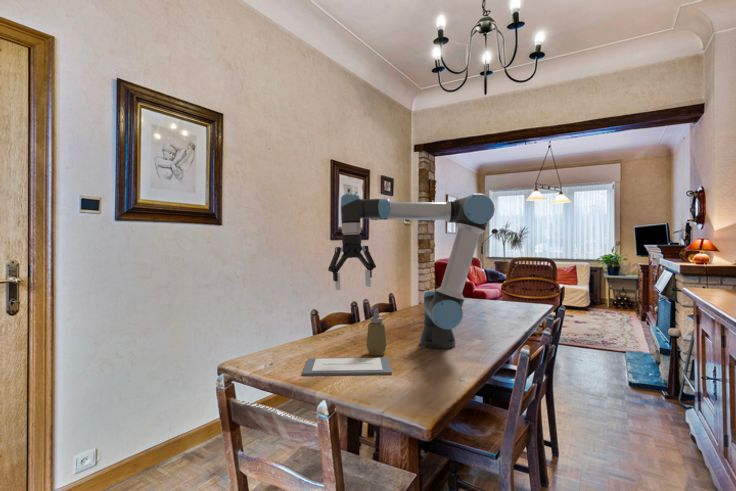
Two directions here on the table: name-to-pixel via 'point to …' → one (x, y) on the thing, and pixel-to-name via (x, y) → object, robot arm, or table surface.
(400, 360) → the table surface
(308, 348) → the table surface
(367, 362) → the writing board
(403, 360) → the table surface
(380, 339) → the squeeze bottle
